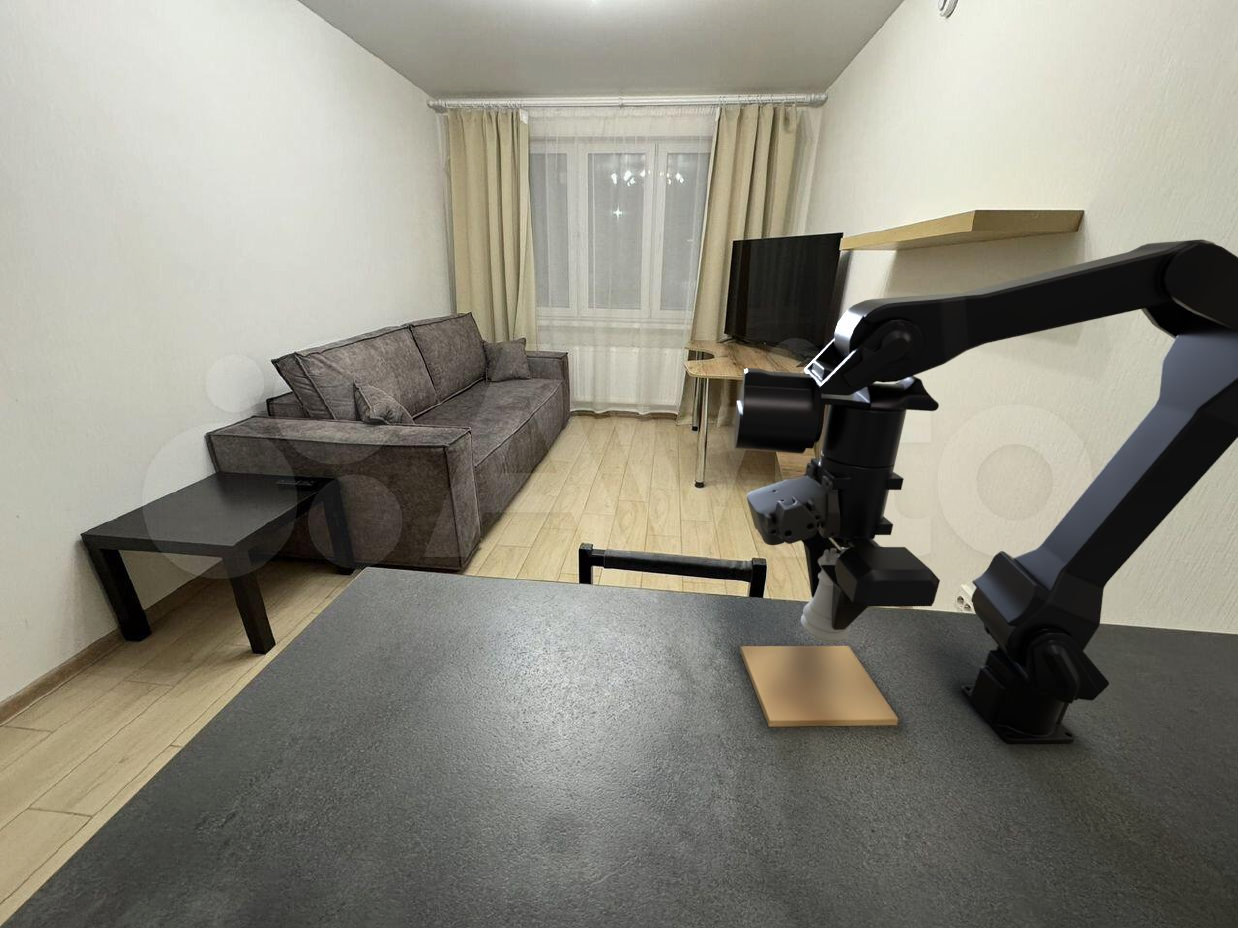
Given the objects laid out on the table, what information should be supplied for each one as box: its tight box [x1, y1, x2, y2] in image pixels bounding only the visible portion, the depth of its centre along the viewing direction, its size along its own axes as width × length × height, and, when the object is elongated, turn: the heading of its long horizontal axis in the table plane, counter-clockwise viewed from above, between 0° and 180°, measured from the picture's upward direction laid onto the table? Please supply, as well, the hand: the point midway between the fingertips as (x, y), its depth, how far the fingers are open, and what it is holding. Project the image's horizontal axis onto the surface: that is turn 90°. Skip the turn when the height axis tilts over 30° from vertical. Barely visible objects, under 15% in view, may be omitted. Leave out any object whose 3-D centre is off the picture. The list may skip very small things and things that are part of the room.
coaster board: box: [739, 645, 899, 728], centre depth 52 cm, size 12×10×1 cm
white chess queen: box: [800, 548, 852, 643], centre depth 48 cm, size 4×4×8 cm
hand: (827, 612), depth 49 cm, fingers closed on white chess queen, 4 cm apart
